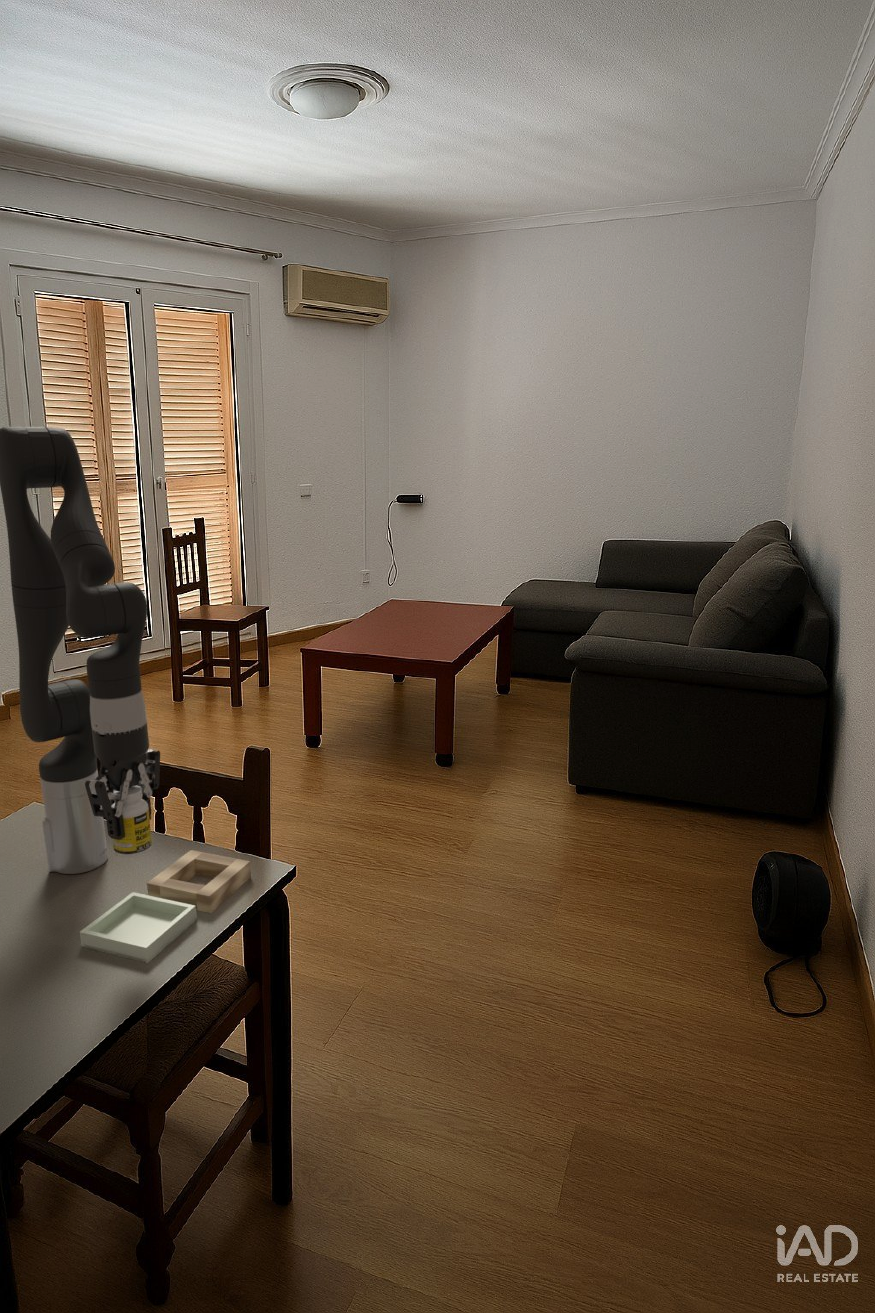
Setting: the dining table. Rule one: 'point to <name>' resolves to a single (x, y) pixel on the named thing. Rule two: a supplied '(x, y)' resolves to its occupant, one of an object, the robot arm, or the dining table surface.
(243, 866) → the holder block
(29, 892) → the dining table surface
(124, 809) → the supplement bottle
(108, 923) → the tray
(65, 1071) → the dining table surface
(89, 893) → the dining table surface
